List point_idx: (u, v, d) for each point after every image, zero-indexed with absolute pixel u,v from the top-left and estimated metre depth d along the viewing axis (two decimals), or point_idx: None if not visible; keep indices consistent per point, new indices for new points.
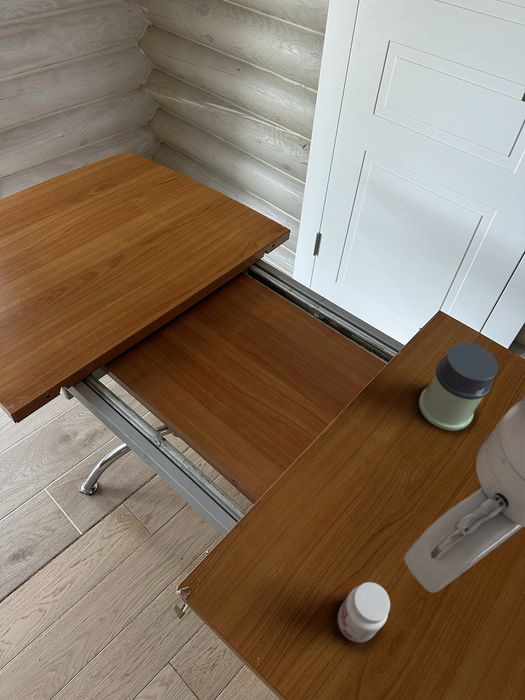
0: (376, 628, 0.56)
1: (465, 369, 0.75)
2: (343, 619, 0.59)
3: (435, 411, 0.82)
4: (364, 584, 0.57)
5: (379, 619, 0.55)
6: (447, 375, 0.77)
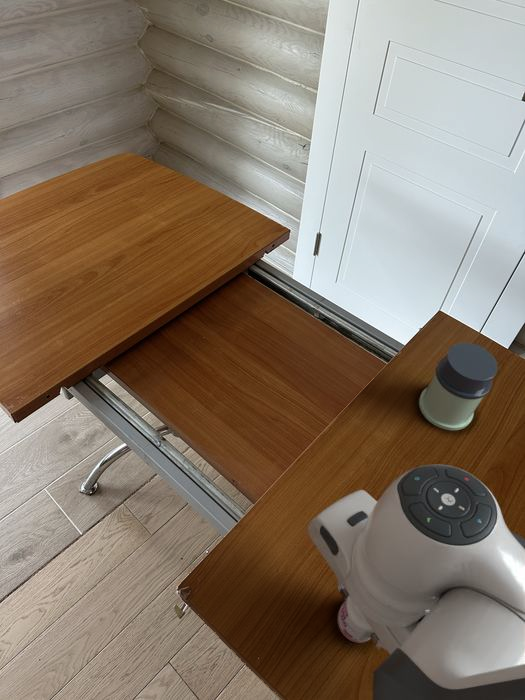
0: None
1: (465, 369, 0.75)
2: (343, 619, 0.59)
3: (435, 411, 0.82)
4: None
5: None
6: (447, 375, 0.77)
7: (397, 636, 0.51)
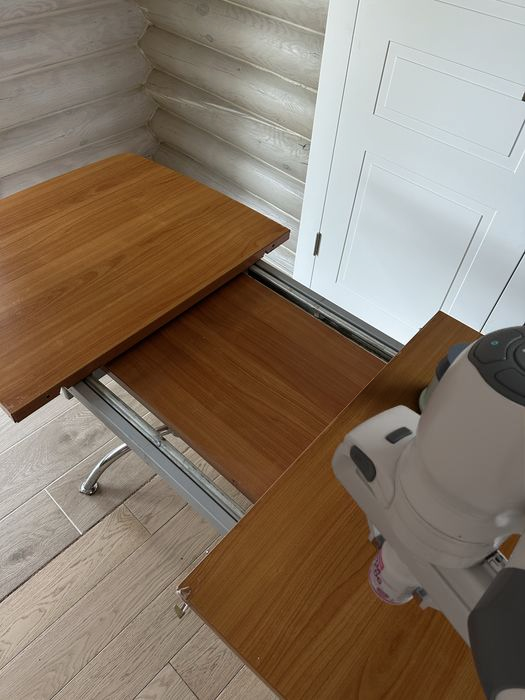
0: None
1: None
2: (377, 574, 0.48)
3: None
4: None
5: None
6: None
7: (454, 584, 0.39)
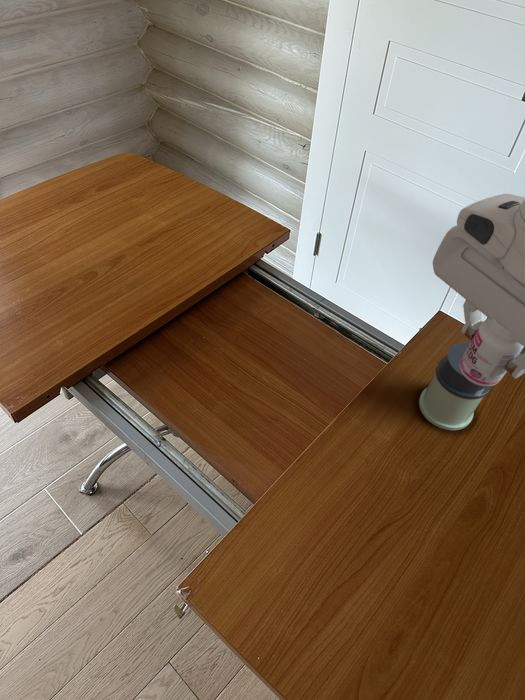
0: (516, 350, 0.52)
1: None
2: (472, 355, 0.55)
3: (435, 411, 0.82)
4: None
5: None
6: (447, 375, 0.77)
7: None
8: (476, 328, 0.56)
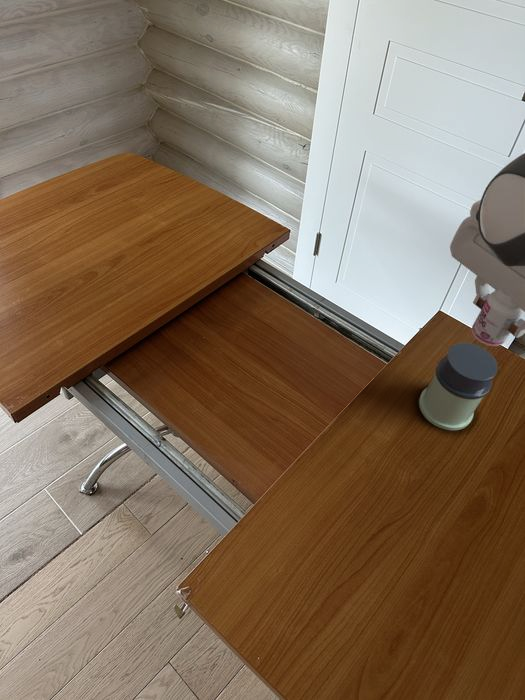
0: (517, 314, 0.66)
1: (465, 369, 0.75)
2: (482, 320, 0.69)
3: (435, 411, 0.82)
4: None
5: None
6: (447, 375, 0.77)
7: None
8: (485, 299, 0.70)
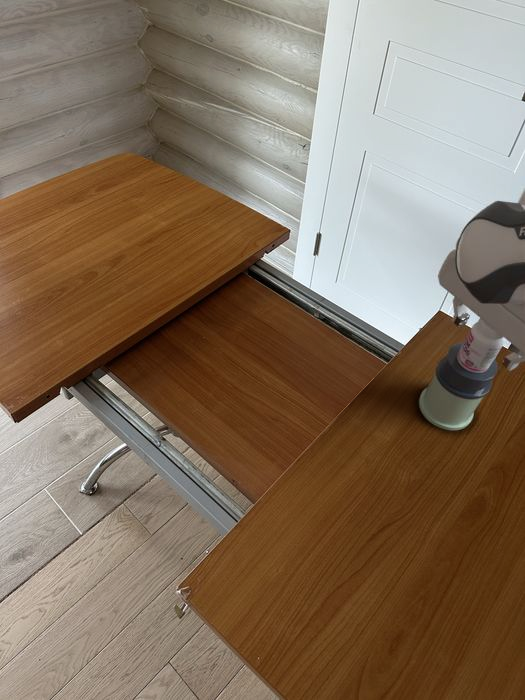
0: (498, 345, 0.70)
1: (465, 369, 0.75)
2: (466, 349, 0.73)
3: (435, 411, 0.82)
4: None
5: None
6: (447, 375, 0.77)
7: None
8: (462, 318, 0.74)
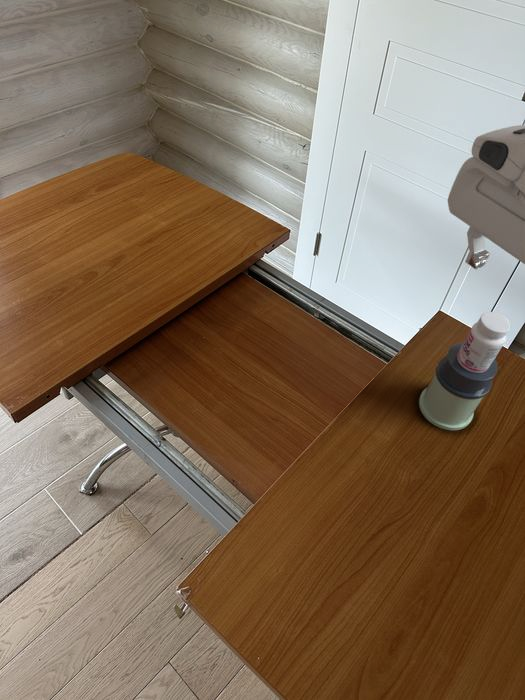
0: (498, 345, 0.70)
1: (465, 369, 0.75)
2: (466, 349, 0.73)
3: (435, 411, 0.82)
4: (487, 312, 0.71)
5: (503, 331, 0.69)
6: (447, 375, 0.77)
7: None
8: (480, 256, 0.57)
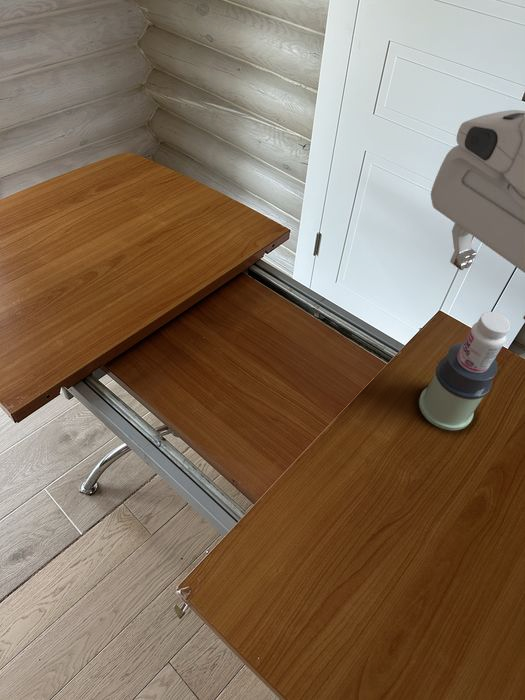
0: (498, 345, 0.70)
1: (465, 369, 0.75)
2: (466, 349, 0.73)
3: (435, 411, 0.82)
4: (487, 312, 0.71)
5: (503, 331, 0.69)
6: (447, 375, 0.77)
7: None
8: (466, 255, 0.52)
